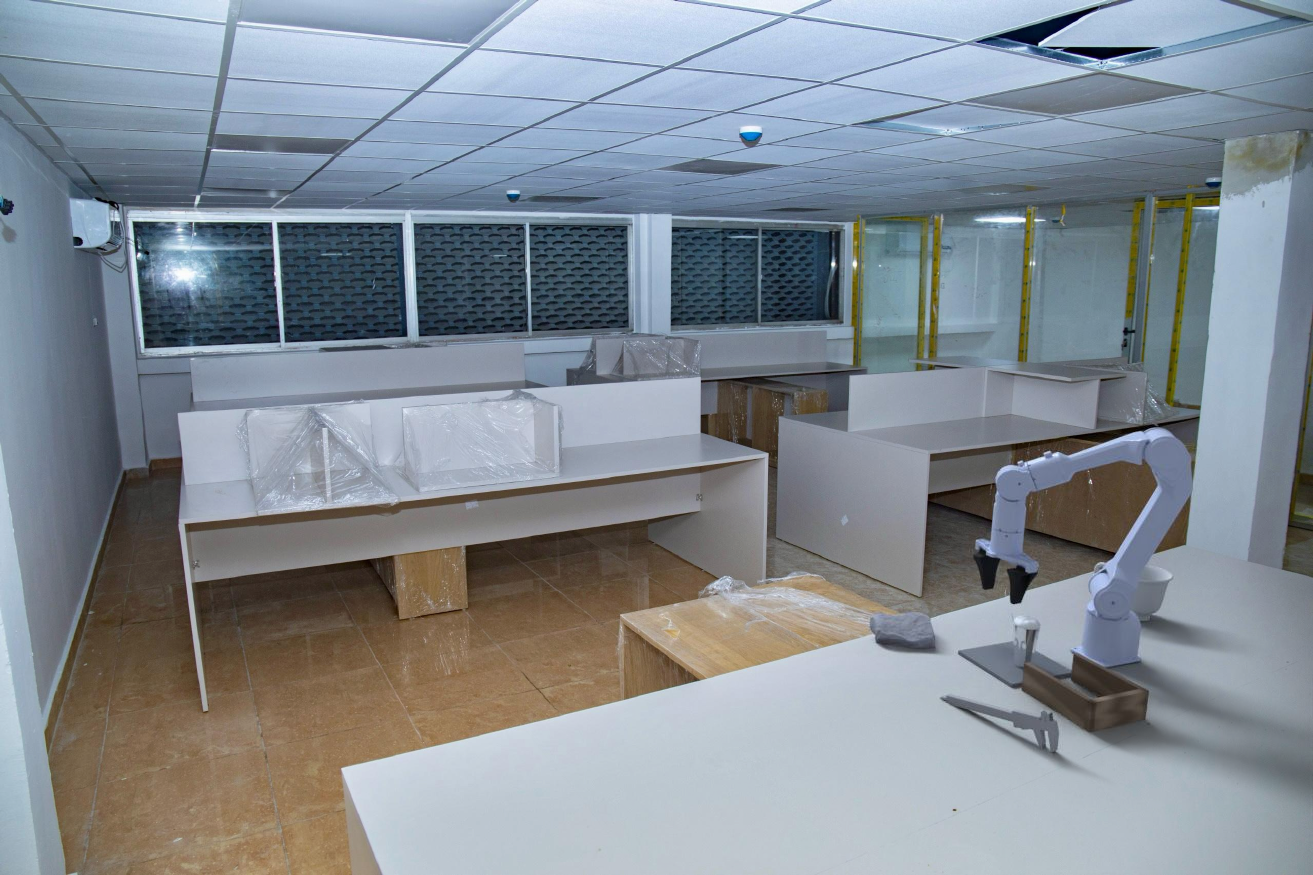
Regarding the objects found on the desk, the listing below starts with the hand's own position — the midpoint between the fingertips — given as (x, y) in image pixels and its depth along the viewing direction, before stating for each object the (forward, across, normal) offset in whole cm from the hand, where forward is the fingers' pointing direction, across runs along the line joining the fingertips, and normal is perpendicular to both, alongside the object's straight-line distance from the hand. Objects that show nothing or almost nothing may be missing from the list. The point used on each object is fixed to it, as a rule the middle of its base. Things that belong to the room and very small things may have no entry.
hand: (1001, 595), depth 166 cm
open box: (+9, +24, -4) cm, 27 cm away
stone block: (+10, -7, -17) cm, 21 cm away
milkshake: (+9, +10, -4) cm, 14 cm away
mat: (+9, +9, -4) cm, 14 cm away
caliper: (+10, +25, -22) cm, 35 cm away
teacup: (+10, -2, +36) cm, 37 cm away
